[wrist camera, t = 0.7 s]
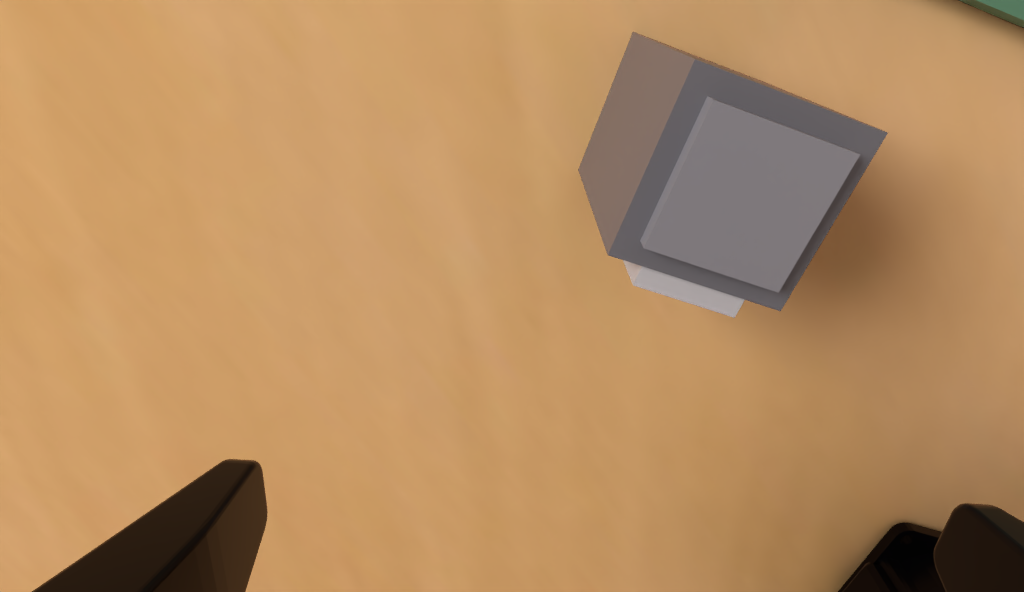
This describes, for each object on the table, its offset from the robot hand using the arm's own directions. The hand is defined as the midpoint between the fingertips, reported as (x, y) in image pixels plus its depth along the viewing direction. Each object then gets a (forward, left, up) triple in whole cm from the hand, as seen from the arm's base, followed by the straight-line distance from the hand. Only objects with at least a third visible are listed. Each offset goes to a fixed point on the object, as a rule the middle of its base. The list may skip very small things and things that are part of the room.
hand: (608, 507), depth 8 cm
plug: (-2, -3, -12) cm, 13 cm away
